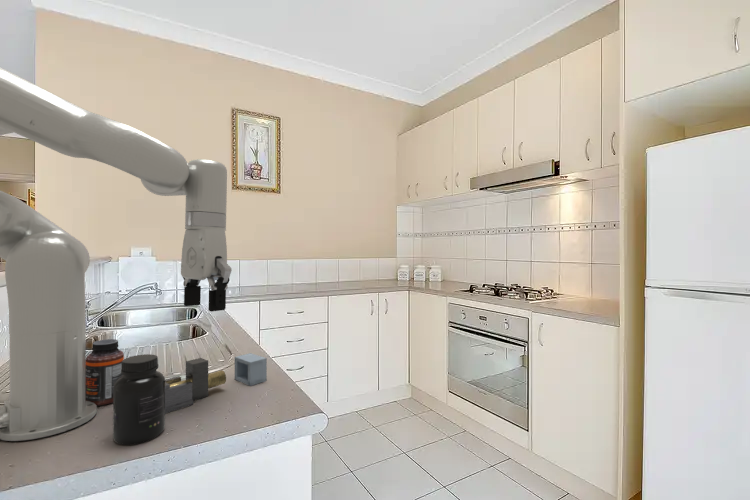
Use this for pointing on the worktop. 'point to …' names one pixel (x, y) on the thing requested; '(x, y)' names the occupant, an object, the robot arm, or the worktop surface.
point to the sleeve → (177, 394)
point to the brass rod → (201, 378)
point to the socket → (250, 369)
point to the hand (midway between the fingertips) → (204, 307)
